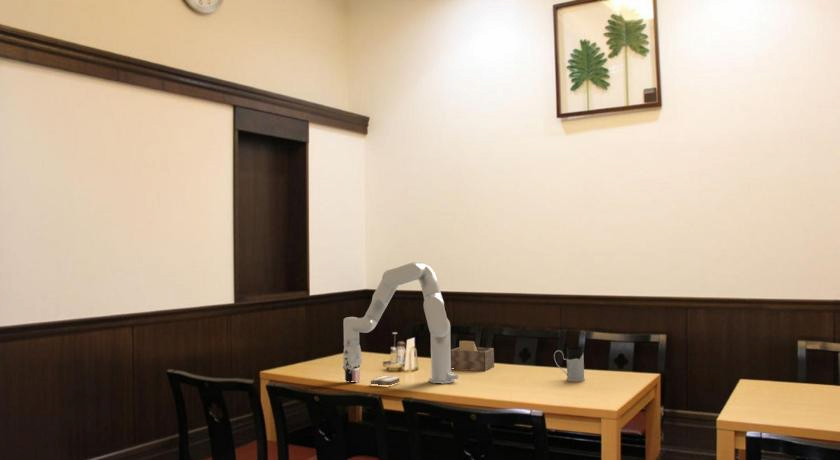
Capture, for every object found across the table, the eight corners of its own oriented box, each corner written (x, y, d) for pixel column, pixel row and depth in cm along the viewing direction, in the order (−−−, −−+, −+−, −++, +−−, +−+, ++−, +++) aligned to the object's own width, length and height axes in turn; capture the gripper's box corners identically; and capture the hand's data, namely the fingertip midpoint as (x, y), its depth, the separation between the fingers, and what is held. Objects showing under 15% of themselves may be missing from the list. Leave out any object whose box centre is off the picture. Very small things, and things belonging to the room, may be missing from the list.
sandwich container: (485, 367, 362) (485, 339, 364) (474, 370, 349) (474, 341, 350) (471, 366, 366) (470, 338, 368) (459, 369, 353) (459, 340, 354)
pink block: (359, 381, 325) (359, 368, 325) (355, 383, 321) (355, 369, 322) (349, 380, 328) (349, 367, 328) (345, 382, 324) (344, 368, 324)
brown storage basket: (494, 367, 358) (493, 348, 359) (485, 371, 346) (484, 351, 347) (460, 365, 367) (460, 346, 367) (450, 369, 355) (450, 350, 355)
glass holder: (585, 381, 313) (584, 349, 313) (554, 381, 316) (553, 349, 316) (584, 378, 321) (583, 346, 322) (554, 377, 324) (553, 346, 325)
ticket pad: (399, 383, 319) (399, 376, 319) (389, 387, 310) (389, 380, 310) (381, 382, 323) (381, 375, 323) (370, 386, 314) (370, 379, 314)
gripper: (348, 345, 316) (349, 384, 315) (367, 340, 331) (368, 377, 330) (335, 344, 319) (336, 382, 318) (354, 340, 334) (355, 376, 334)
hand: (352, 379), depth 324 cm, fingers open, 5 cm apart
